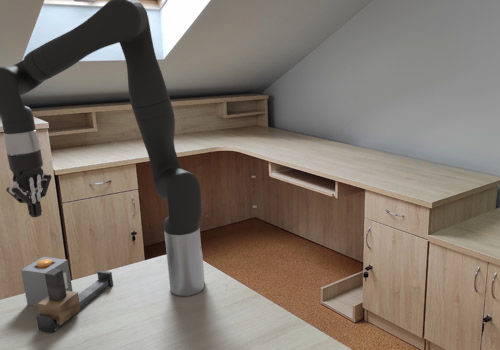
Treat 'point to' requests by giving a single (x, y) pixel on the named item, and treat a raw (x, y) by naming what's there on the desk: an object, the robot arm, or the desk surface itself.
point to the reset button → (44, 263)
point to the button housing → (42, 279)
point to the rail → (86, 296)
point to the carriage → (58, 298)
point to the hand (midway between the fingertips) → (36, 216)
